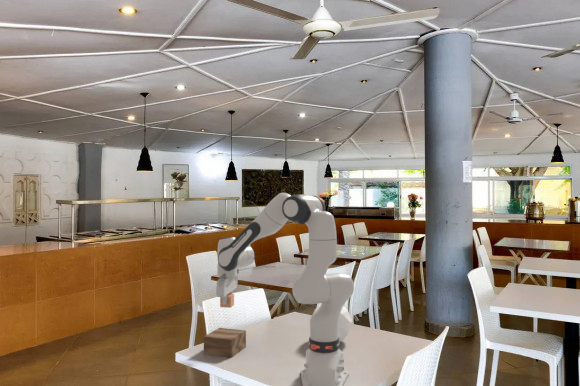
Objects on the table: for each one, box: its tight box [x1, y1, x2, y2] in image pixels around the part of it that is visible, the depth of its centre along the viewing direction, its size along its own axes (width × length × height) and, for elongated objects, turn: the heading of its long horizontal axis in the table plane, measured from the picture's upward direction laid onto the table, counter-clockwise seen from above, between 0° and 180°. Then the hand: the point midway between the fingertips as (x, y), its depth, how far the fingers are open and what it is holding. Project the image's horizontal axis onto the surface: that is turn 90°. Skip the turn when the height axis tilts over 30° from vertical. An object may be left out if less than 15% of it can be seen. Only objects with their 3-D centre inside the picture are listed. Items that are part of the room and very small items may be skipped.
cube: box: [219, 293, 235, 309], centre depth 197 cm, size 5×5×5 cm
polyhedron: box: [312, 303, 353, 343], centre depth 207 cm, size 19×20×20 cm
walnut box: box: [203, 327, 247, 359], centre depth 196 cm, size 14×14×8 cm
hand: (227, 302), depth 197 cm, fingers closed on cube, 5 cm apart
